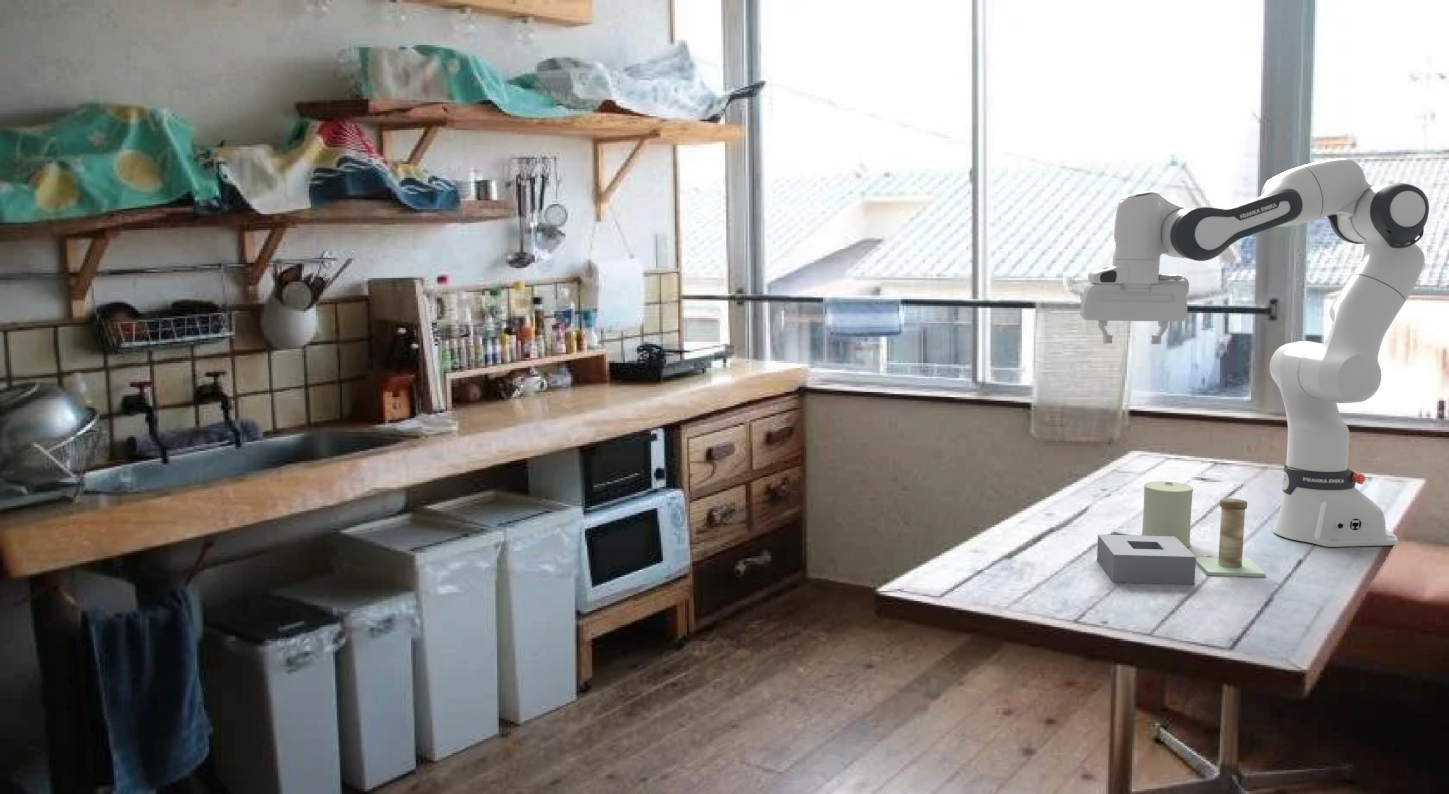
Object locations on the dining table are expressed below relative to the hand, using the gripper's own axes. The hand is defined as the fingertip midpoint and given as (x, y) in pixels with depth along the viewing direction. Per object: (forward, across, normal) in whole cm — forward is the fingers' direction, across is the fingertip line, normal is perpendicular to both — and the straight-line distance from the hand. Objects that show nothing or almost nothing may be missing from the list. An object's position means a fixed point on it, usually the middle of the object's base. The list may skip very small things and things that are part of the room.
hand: (1131, 343), depth 243 cm
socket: (+39, +2, +28) cm, 48 cm away
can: (+39, -7, +6) cm, 40 cm away
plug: (+38, -14, +24) cm, 47 cm away
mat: (+39, -14, +24) cm, 48 cm away
